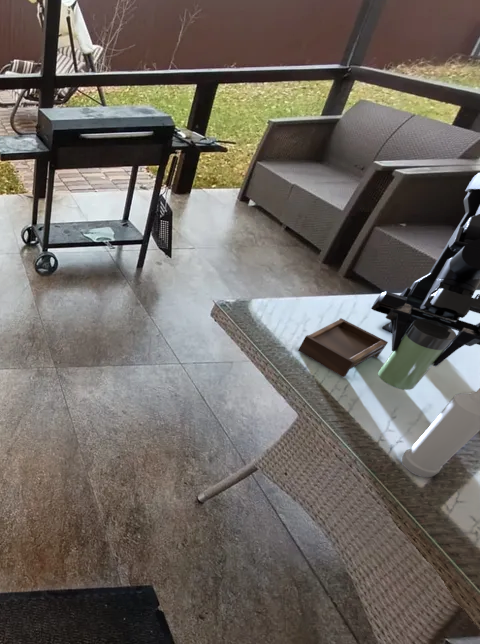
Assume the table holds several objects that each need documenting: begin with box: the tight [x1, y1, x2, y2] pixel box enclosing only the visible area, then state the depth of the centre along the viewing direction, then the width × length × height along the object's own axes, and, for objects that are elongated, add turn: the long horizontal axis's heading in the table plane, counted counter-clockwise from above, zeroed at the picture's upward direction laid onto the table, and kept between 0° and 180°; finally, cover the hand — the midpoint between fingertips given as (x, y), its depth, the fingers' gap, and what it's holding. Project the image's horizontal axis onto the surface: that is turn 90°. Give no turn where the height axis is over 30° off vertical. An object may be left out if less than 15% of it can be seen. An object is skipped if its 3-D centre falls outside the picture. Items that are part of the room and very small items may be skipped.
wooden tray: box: [297, 318, 389, 378], centre depth 109 cm, size 14×10×4 cm
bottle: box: [400, 387, 480, 478], centre depth 78 cm, size 5×5×25 cm
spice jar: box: [377, 319, 457, 391], centre depth 90 cm, size 6×6×13 cm
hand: (413, 358), depth 89 cm, fingers closed on spice jar, 6 cm apart
